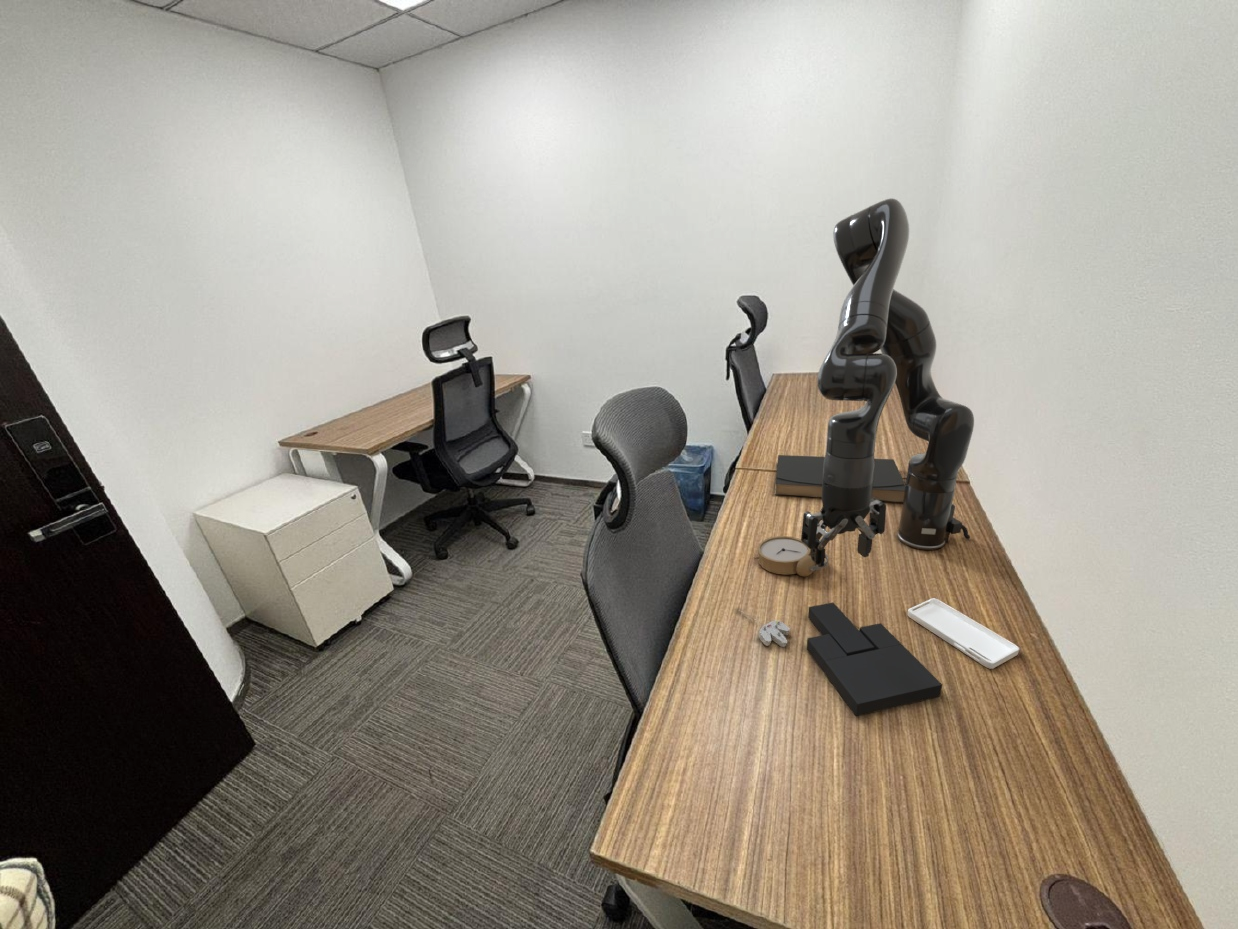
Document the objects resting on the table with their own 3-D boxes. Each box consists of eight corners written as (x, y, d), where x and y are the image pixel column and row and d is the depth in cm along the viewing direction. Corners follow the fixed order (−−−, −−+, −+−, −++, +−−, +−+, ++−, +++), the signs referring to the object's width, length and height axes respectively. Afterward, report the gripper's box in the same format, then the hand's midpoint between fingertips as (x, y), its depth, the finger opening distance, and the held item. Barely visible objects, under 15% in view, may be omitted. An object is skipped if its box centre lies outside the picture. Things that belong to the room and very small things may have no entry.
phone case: (1019, 654, 80) (933, 602, 93) (1021, 647, 79) (934, 596, 92) (990, 670, 78) (905, 615, 90) (991, 664, 77) (906, 609, 90)
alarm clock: (765, 532, 116) (832, 537, 107) (768, 550, 117) (834, 556, 108) (748, 556, 107) (820, 563, 98) (752, 576, 109) (822, 584, 100)
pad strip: (807, 617, 92) (808, 607, 91) (832, 612, 93) (833, 602, 92) (845, 664, 81) (847, 653, 80) (872, 658, 82) (874, 647, 81)
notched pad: (879, 634, 87) (880, 623, 86) (939, 696, 74) (942, 684, 73) (806, 649, 85) (807, 638, 84) (855, 716, 72) (857, 704, 71)
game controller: (781, 654, 85) (781, 642, 84) (723, 628, 92) (722, 617, 91) (794, 635, 88) (795, 624, 87) (737, 611, 96) (737, 600, 95)
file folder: (775, 482, 137) (778, 452, 158) (774, 495, 138) (778, 463, 159) (908, 490, 126) (892, 456, 147) (906, 504, 128) (891, 468, 148)
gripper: (871, 460, 84) (863, 541, 90) (795, 475, 82) (792, 556, 88) (903, 477, 77) (891, 563, 83) (820, 493, 75) (815, 580, 81)
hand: (840, 559), depth 86 cm, fingers open, 8 cm apart
